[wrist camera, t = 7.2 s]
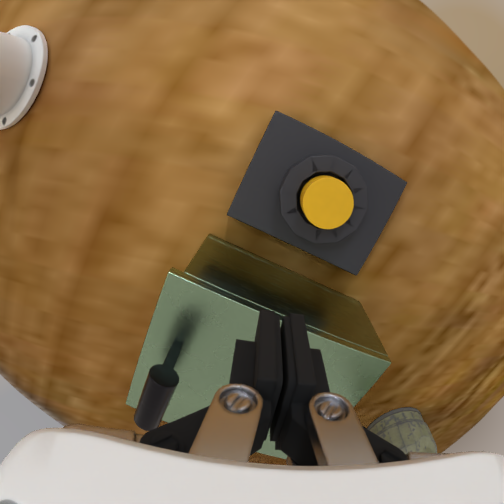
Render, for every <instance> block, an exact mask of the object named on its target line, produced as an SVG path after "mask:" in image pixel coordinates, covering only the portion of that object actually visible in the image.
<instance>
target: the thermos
mask: <svg viewBox="0 0 504 504" xmlns="http://www.w3.org/2000/svg"><path fill="white" fill-rule="evenodd" d="M367 429H368V430H370V431H371V432H373V433H374V434H376V435H378V436H379V437H381V438H383V439H384V440H386V441H388V442H389V443H391V444H393V445H394V446H396V447H398V448H399V449H400V450H402V451H403V452H404V453H405V454H407V453H408V452H409V451H410V452H424V453H437V447H436V443H435V441H434V439H433V437H432V434H431V432H430V430H429V428H428V425H427V424H426V423H425V422H424V421H423V419H422V415H421V413H420V411H418V410H417V409H415V408H411V407H406V408H399V409H396V410H392V411H390V412H388V413H386V414H383V415H382V416H380V417H379V418H377V419H376V420H374V421H373V422H372V423H371V424H370V425H369V426H368V428H367Z"/></svg>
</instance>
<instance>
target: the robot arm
mask: <svg viewBox="0 0 504 504" xmlns="http://www.w3.org/2000/svg"><path fill="white" fill-rule="evenodd" d="M47 60H48V49H47V42H46V39H45V36H44V35H43V34H42V32H41V31H40V30H38V29H37V28H35V27H32V26H27V25H23V26H19V27H16V28H14V29H12V30H10V31H9V32H7V33H3V32H0V130H3V129H7V128H9V127H11V126H13V125H15V124H16V123H17V122H18V121H19V120H20V119H21V118H22V117H23V116H24V115H25V114H26V113H27V111H28V110H29V108H30V107H31V105H32V104H33V102H34V100H35V98H36V96H37V94H38V92H39V90H40V87H41V85H42V82H43V79H44V75H45V72H46V66H47ZM269 429H270V441H275V450H281V451H282V452H284V453H285V454H286V455H287V465H273V464H260V463H249V462H248V460H249V456H250V455H252V454H253V453H255V452H256V451H258V450H260V449H261V448H262V445H263V442H264V441H266V438H267V435H268V432H269ZM0 504H504V456H502V455H500V454H496V453H491V452H483V451H481V452H480V451H475V452H474V451H471V452H459V453H453V454H445V453H444V454H443V453H424V452H410V451H409V452H408V453H407V454H405V453H404V452H403V451H402V450H400V449H399V448H398V447H396V446H394V445H393V444H391V443H389V442H388V441H386V440H384V439H383V438H381V437H379V436H378V435H376V434H374V433H373V432H371V431H370V430H368V429H366V428H365V427H363V426H362V425H361V423H360V421H359V419H358V416H357V414H356V412H355V410H354V408H353V406H352V404H351V403H350V401H349V400H347V399H346V398H345V397H343V396H341V395H339V394H336V393H332V392H330V389H329V385H328V380H327V376H326V371H325V367H324V362H323V358H322V354H321V350H320V349H313V348H310V345H309V339H308V334H307V329H306V324H305V319H304V315H301V314H293V313H289V315H288V316H283V319H282V323H281V328H280V316H279V315H275V312H274V311H270V310H263V309H260V313H259V318H258V324H257V329H256V335H255V340H254V341H246V340H240V339H236V343H235V349H234V355H233V362H232V368H231V374H230V381H229V384H228V385H224V386H222V387H221V388H219V389H218V390H217V392H216V393H215V395H214V397H213V399H212V402H211V404H210V405H209V406H207V407H205V408H203V409H201V410H198V411H196V412H194V413H192V414H189V415H187V416H185V417H182V418H180V419H177V420H175V421H173V422H170V423H168V424H165V425H163V426H160V427H158V428H155V429H153V430H151V431H149V432H147V433H145V434H144V435H143V434H135V431H132V430H122V429H113V428H105V427H98V426H91V425H84V424H69V425H66V426H65V427H63V428H46V429H40V430H36V431H33V432H31V433H29V434H28V435H26V436H25V437H24V438H22V439H21V440H20V441H19V442H18V443H17V444H16V445H15V447H14V448H13V449H12V450H11V451H10V452H9V454H8V455H7V456H6V458H5V459H4V460H3V462H2V463H1V465H0Z"/></svg>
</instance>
